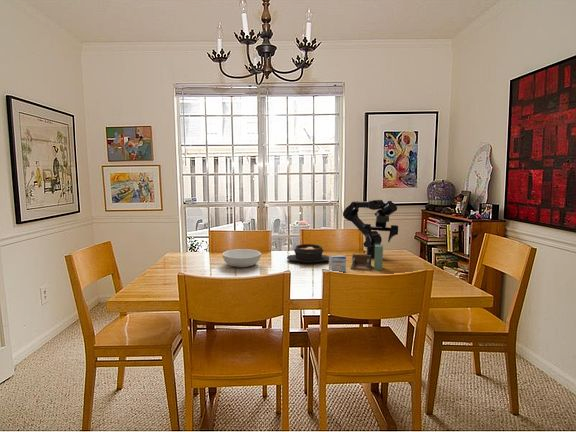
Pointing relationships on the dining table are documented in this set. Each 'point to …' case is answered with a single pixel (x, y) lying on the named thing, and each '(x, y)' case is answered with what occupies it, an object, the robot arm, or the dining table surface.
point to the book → (378, 257)
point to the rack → (361, 262)
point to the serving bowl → (241, 257)
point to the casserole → (308, 254)
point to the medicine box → (337, 263)
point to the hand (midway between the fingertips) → (379, 241)
